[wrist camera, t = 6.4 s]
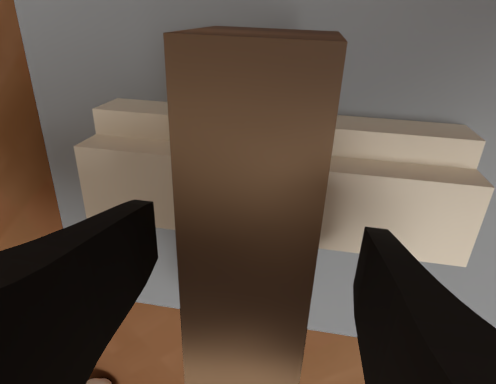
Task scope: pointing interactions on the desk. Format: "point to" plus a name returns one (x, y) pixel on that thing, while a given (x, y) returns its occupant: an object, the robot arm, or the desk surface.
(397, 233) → the ridge stand
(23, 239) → the desk surface
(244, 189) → the walnut bar
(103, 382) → the lightbulb
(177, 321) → the desk surface
